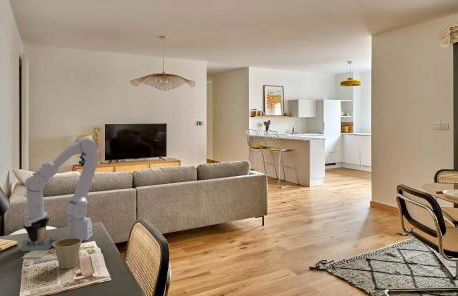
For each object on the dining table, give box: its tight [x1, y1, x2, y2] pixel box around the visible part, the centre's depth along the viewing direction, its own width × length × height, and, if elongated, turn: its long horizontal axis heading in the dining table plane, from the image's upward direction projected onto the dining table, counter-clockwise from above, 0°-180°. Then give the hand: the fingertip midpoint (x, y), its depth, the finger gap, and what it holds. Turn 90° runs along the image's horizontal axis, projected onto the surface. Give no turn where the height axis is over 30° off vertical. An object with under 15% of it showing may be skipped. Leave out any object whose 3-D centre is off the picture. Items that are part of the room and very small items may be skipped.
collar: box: [27, 226, 48, 241], centre depth 143 cm, size 5×5×4 cm
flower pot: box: [52, 237, 83, 270], centre depth 124 cm, size 9×9×9 cm
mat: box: [21, 249, 50, 259], centre depth 135 cm, size 7×7×1 cm
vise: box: [20, 230, 59, 252], centre depth 143 cm, size 13×7×7 cm, turn 93°
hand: (37, 238), depth 143 cm, fingers open, 6 cm apart
